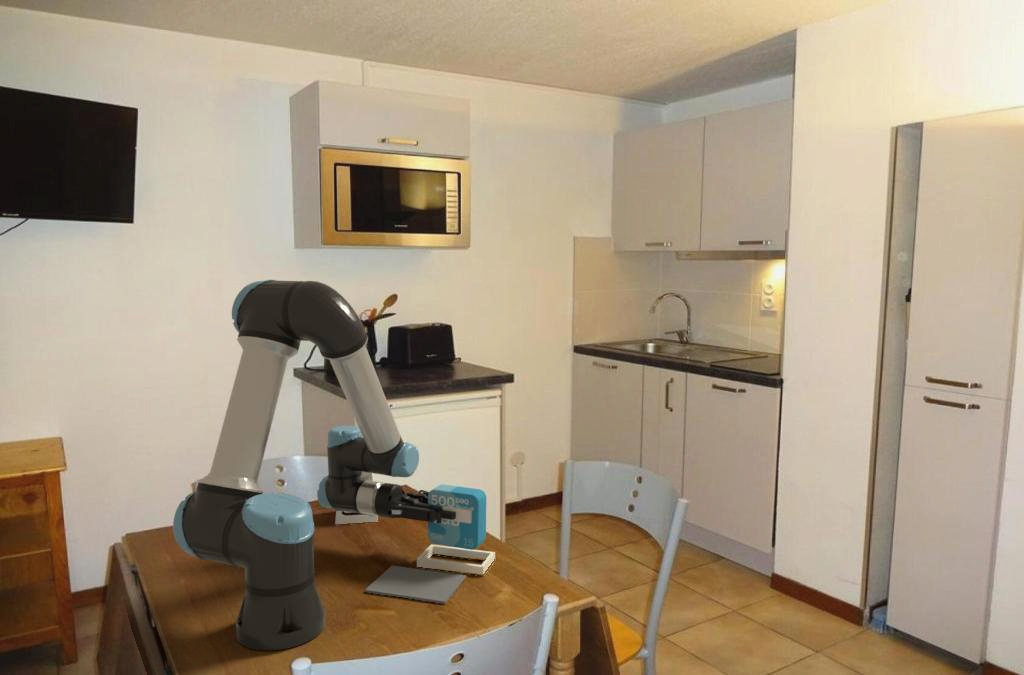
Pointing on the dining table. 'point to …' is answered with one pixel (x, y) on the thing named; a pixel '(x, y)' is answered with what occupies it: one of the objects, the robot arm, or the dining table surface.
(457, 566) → the cradle
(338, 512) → the grater
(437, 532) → the blue rounded block
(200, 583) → the dining table surface
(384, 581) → the mat
